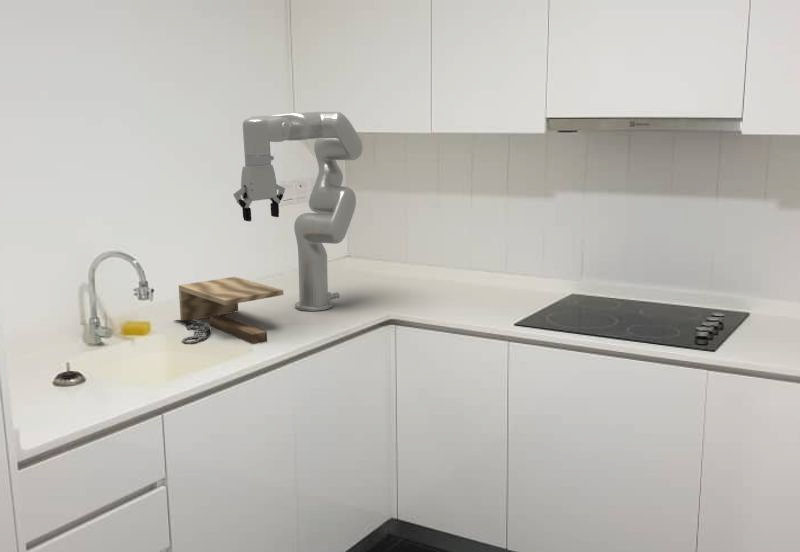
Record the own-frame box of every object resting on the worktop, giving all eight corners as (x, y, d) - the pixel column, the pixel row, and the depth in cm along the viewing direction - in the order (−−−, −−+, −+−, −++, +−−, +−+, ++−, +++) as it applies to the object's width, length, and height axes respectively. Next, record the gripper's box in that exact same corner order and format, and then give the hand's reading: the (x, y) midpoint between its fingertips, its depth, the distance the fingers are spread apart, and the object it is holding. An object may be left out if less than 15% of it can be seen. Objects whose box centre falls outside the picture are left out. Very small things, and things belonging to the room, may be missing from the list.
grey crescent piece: (172, 318, 259) (205, 314, 262) (173, 323, 259) (205, 319, 262) (178, 343, 233) (214, 338, 236) (179, 348, 233) (215, 343, 236)
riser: (236, 310, 273) (234, 276, 270) (284, 327, 252) (283, 290, 250) (180, 321, 260) (178, 285, 257) (226, 339, 239) (224, 300, 237)
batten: (223, 314, 256) (209, 317, 253) (266, 331, 236) (252, 334, 233) (223, 325, 256) (210, 327, 254) (267, 342, 237) (253, 345, 234)
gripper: (275, 158, 251) (278, 213, 255) (225, 162, 240) (229, 221, 244) (289, 159, 246) (292, 216, 250) (239, 164, 235) (243, 224, 239)
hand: (261, 218), depth 247 cm, fingers open, 9 cm apart
